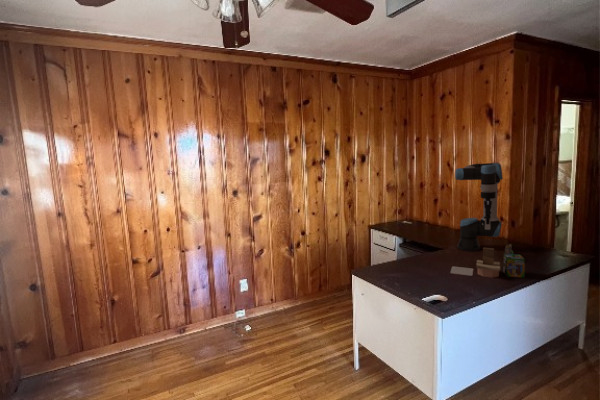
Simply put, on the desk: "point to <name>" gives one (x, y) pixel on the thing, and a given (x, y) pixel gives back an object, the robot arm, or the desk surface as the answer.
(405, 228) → the desk surface
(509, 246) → the ruin model on sheet
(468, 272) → the mat
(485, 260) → the tan wooden stand
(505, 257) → the green labelled jug
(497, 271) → the bowl
